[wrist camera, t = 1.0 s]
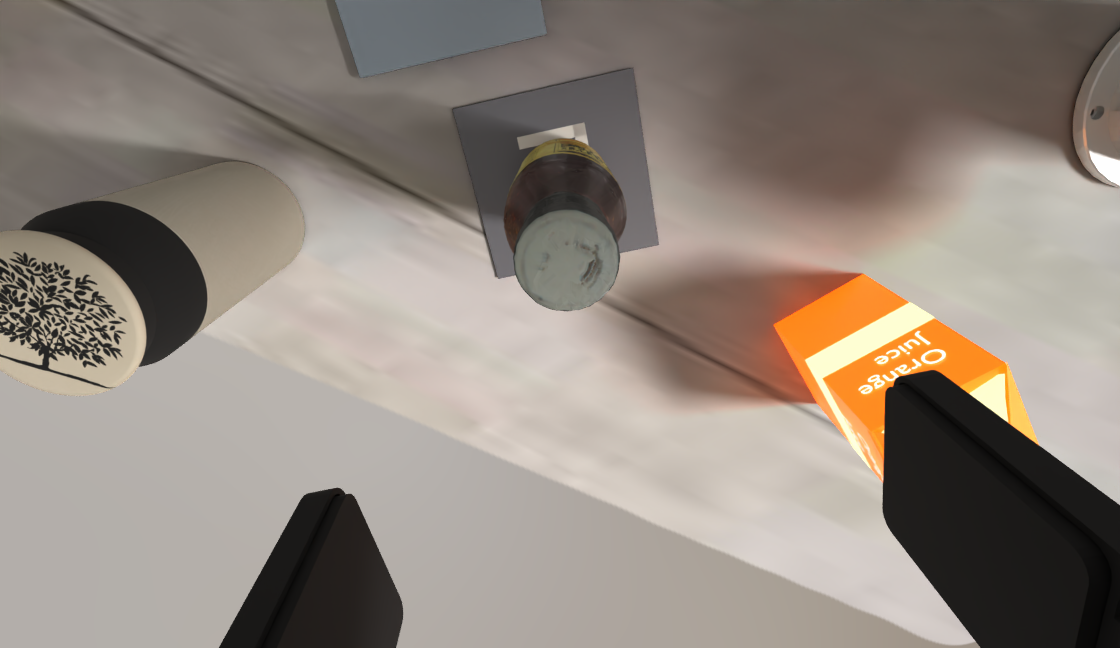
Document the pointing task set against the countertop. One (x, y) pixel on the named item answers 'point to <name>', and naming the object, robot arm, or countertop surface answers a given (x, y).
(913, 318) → the orange juice
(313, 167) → the countertop surface
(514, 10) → the pad
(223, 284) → the travel mug
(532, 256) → the sauce bottle
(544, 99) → the tile
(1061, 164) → the countertop surface
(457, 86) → the countertop surface
